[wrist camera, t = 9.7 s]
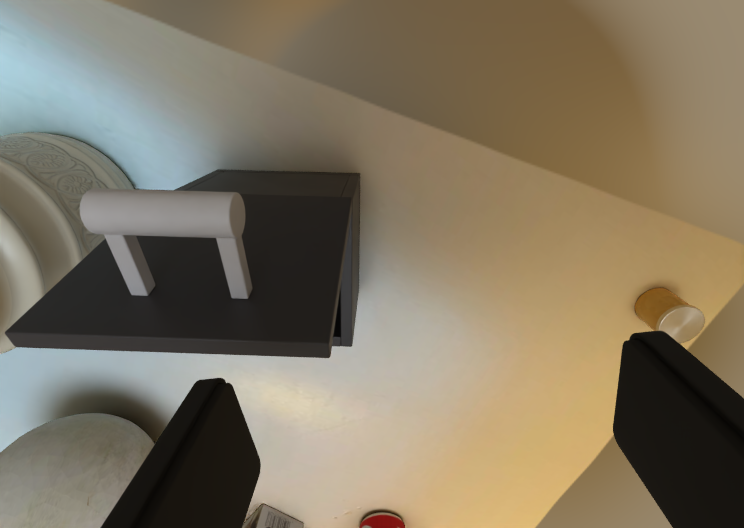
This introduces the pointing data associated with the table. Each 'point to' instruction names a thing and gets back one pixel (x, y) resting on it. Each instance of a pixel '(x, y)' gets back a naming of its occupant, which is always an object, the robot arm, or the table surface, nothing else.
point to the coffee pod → (669, 314)
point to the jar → (44, 215)
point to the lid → (199, 276)
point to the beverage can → (382, 521)
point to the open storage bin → (304, 187)
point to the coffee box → (270, 519)
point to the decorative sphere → (69, 471)
